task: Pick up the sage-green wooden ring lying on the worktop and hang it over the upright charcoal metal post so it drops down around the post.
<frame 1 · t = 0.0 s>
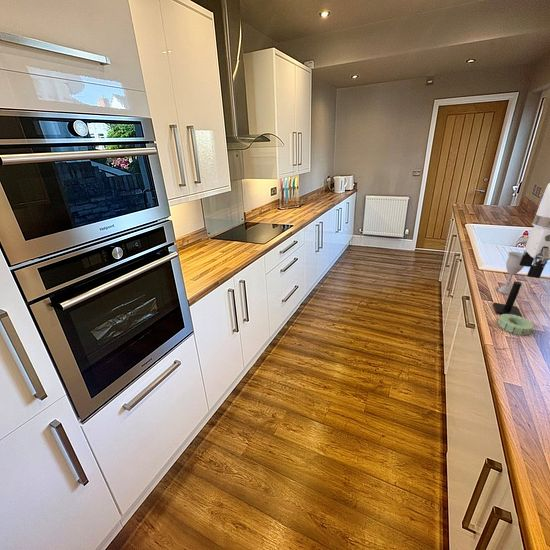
hand: (528, 271, 99), 23 cm above the counter, tool pointing down, fingers open, 9 cm apart
ring: (513, 327, 108), on the counter
post: (506, 311, 117), on the counter
chalice: (504, 291, 133), on the counter
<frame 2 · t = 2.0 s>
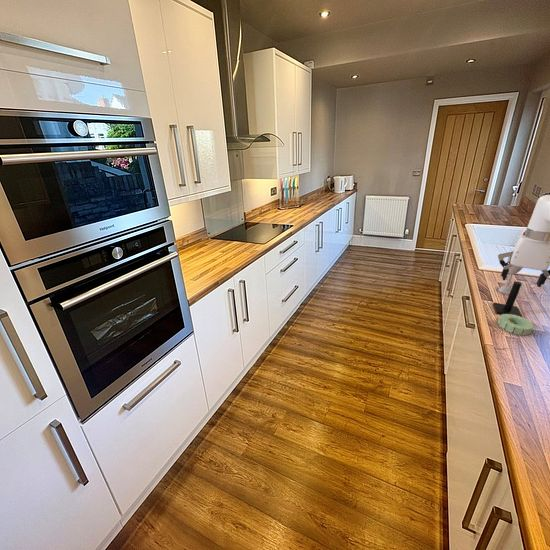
hand: (520, 282, 101), 18 cm above the counter, tool pointing down, fingers open, 9 cm apart
nothing on the counter moved.
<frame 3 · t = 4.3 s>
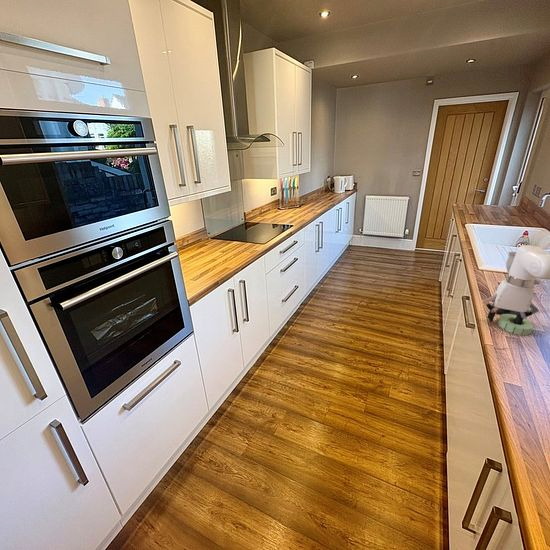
hand: (503, 322, 109), 1 cm above the counter, tool pointing down, fingers open, 7 cm apart
nothing on the counter moved.
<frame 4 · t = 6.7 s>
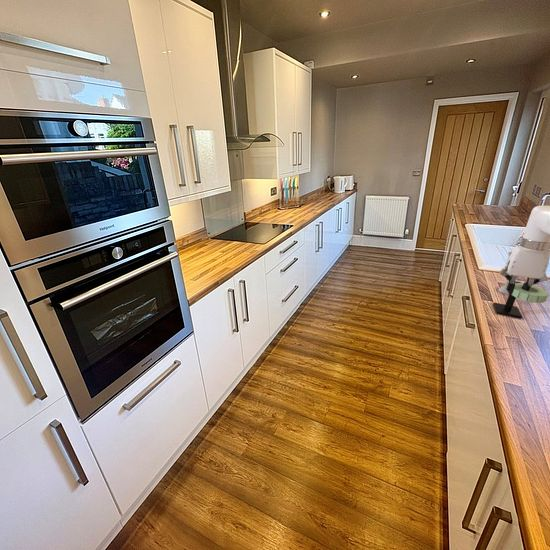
hand: (515, 293, 103), 14 cm above the counter, tool pointing down, fingers closed on ring, 3 cm apart
ring: (527, 295, 102), point 13 cm above the counter, touching gripper
everything else where it was.
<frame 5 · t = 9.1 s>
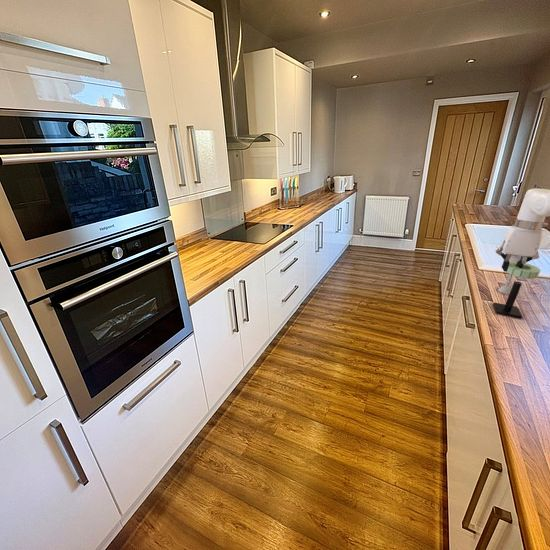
hand: (510, 270, 111), 17 cm above the counter, tool pointing down, fingers closed on ring, 3 cm apart
ring: (520, 273, 110), point 17 cm above the counter, touching gripper
everything else where it was.
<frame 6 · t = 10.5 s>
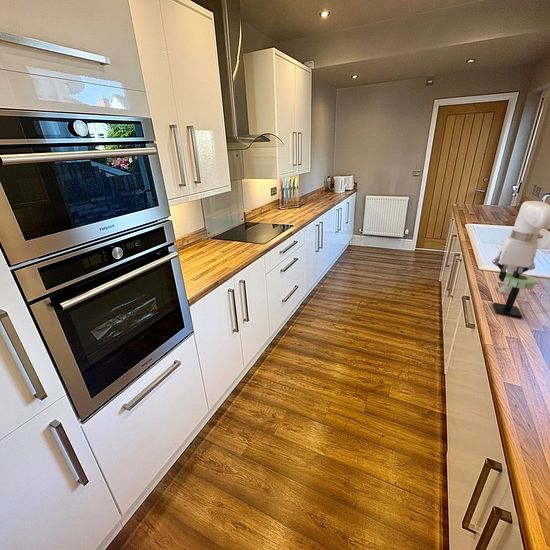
hand: (507, 280, 113), 13 cm above the counter, tool pointing down, fingers closed on ring, 3 cm apart
ring: (517, 283, 112), point 13 cm above the counter, touching gripper
everything else where it was.
when the fingers open (14 cm above the counter, at t = 13.2 s): ring drops 12 cm, resting on post.
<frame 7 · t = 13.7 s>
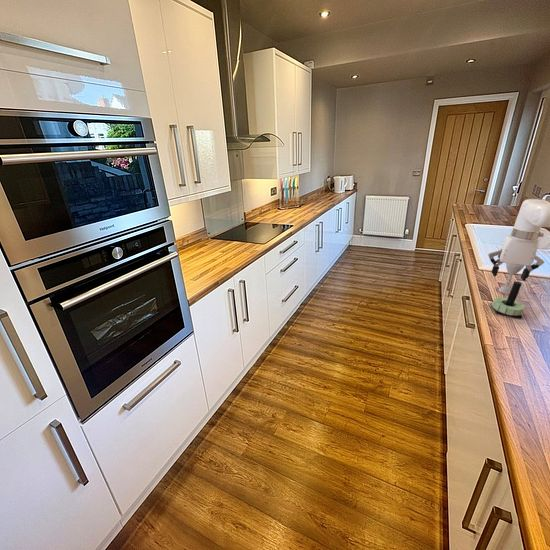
hand: (508, 277, 113), 15 cm above the counter, tool pointing down, fingers open, 8 cm apart
ring: (506, 308, 117), point 1 cm above the counter, touching post
everything else where it was.
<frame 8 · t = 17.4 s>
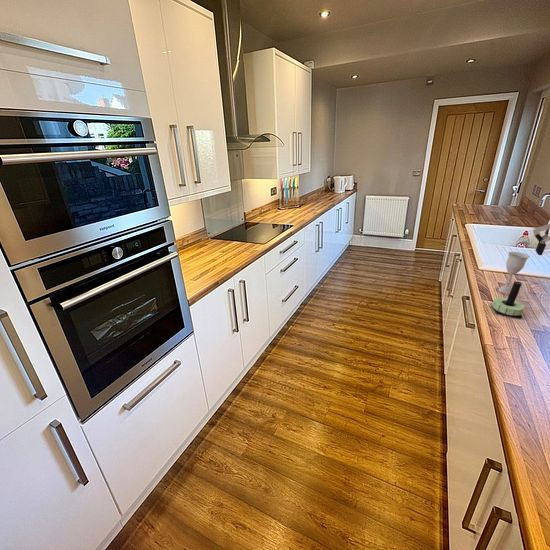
nothing on the counter moved.
at the end: ring 0.2 cm off-centre on the post, point 1.0 cm above the post's base; the gripper is holding nothing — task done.
